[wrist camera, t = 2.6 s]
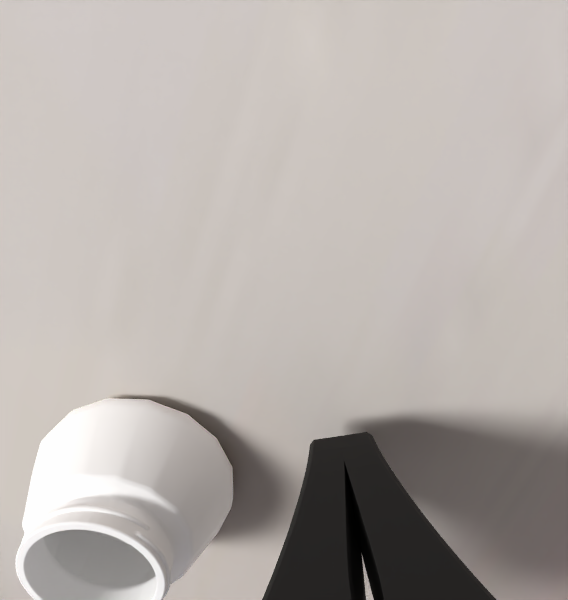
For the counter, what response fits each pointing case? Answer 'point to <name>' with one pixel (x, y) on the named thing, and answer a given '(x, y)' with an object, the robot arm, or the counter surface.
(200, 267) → the counter surface
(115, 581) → the white jar
